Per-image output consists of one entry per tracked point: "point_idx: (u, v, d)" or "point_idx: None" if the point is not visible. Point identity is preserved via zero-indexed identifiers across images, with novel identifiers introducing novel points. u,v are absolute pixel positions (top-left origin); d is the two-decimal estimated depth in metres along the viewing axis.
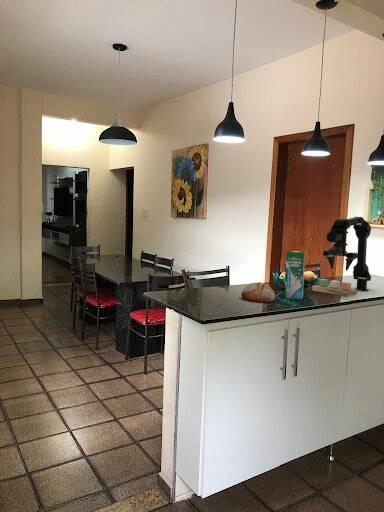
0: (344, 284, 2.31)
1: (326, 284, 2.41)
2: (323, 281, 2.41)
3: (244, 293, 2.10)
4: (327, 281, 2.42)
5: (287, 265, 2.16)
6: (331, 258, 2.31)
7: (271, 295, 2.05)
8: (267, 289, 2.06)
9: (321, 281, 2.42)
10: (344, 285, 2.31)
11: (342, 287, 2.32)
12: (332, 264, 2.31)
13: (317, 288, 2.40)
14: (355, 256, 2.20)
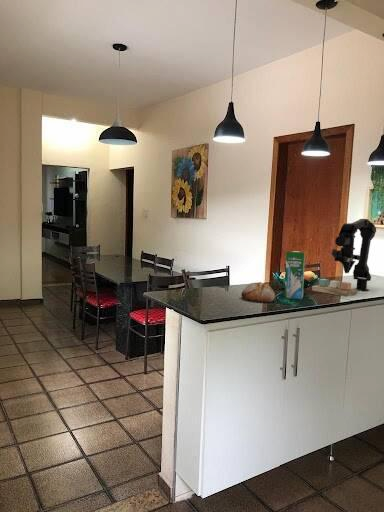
0: (344, 284, 2.31)
1: (326, 284, 2.41)
2: (323, 281, 2.41)
3: (244, 293, 2.10)
4: (327, 281, 2.42)
5: (287, 265, 2.16)
6: None
7: (271, 295, 2.06)
8: (267, 289, 2.06)
9: (321, 281, 2.42)
10: (344, 285, 2.31)
11: (342, 287, 2.32)
12: None
13: (317, 288, 2.40)
14: (339, 259, 2.25)
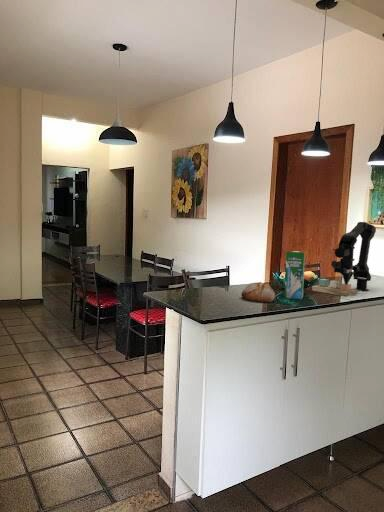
0: (344, 285, 2.31)
1: (326, 284, 2.41)
2: (323, 281, 2.41)
3: (244, 293, 2.10)
4: (327, 281, 2.42)
5: (287, 265, 2.16)
6: None
7: (271, 295, 2.06)
8: (267, 289, 2.07)
9: (321, 281, 2.42)
10: (343, 286, 2.31)
11: (342, 288, 2.32)
12: None
13: (317, 288, 2.40)
14: (338, 270, 2.26)
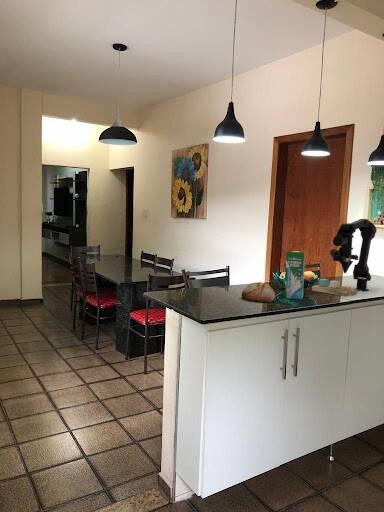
0: (343, 288, 2.32)
1: (326, 284, 2.41)
2: (323, 281, 2.41)
3: (244, 293, 2.10)
4: (327, 281, 2.42)
5: (287, 265, 2.16)
6: None
7: (271, 295, 2.06)
8: (267, 289, 2.07)
9: (321, 281, 2.42)
10: (343, 289, 2.32)
11: None
12: None
13: (317, 288, 2.40)
14: (337, 259, 2.26)
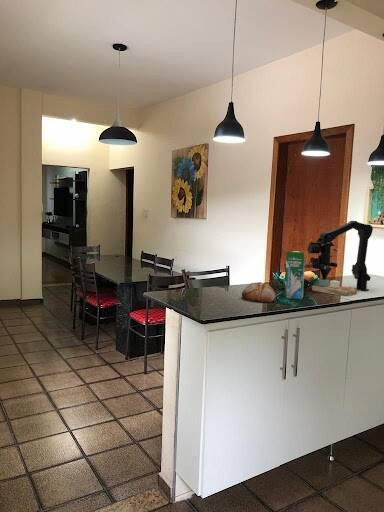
0: (343, 288, 2.32)
1: (326, 284, 2.41)
2: (323, 281, 2.41)
3: (244, 293, 2.11)
4: (327, 281, 2.42)
5: (287, 265, 2.16)
6: None
7: (271, 295, 2.06)
8: (267, 289, 2.07)
9: (321, 281, 2.42)
10: (343, 289, 2.32)
11: None
12: None
13: (317, 288, 2.40)
14: (316, 267, 2.36)
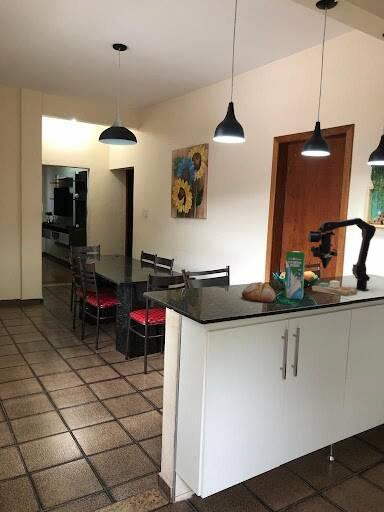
0: (343, 288, 2.32)
1: None
2: (323, 285, 2.41)
3: (245, 293, 2.11)
4: (327, 285, 2.42)
5: (287, 265, 2.16)
6: None
7: (272, 295, 2.06)
8: (268, 289, 2.07)
9: (321, 285, 2.42)
10: (343, 289, 2.32)
11: None
12: None
13: (317, 288, 2.40)
14: (317, 255, 2.39)
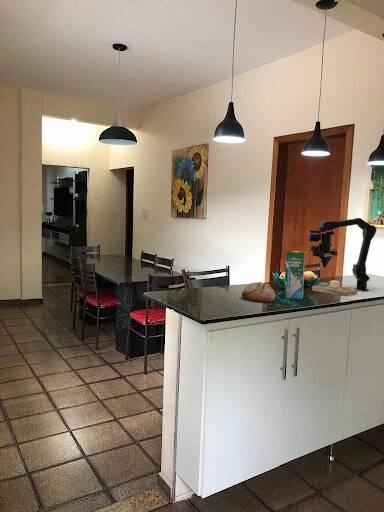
0: (343, 288, 2.32)
1: None
2: (323, 285, 2.41)
3: (245, 293, 2.11)
4: (327, 285, 2.42)
5: (287, 265, 2.16)
6: None
7: (272, 295, 2.06)
8: (268, 289, 2.07)
9: (321, 285, 2.42)
10: (343, 289, 2.32)
11: None
12: None
13: (317, 288, 2.40)
14: (316, 254, 2.41)
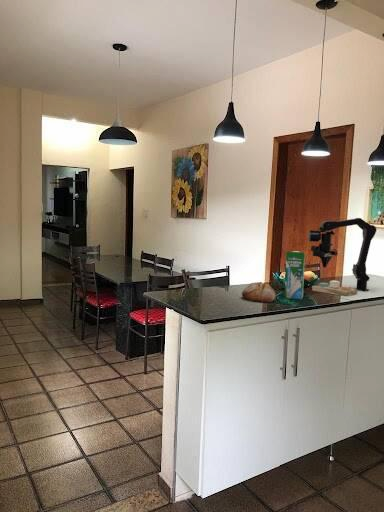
0: (343, 288, 2.32)
1: None
2: (323, 285, 2.41)
3: (245, 293, 2.11)
4: (327, 285, 2.42)
5: (287, 265, 2.16)
6: None
7: (272, 295, 2.06)
8: (268, 289, 2.07)
9: (321, 285, 2.42)
10: (343, 289, 2.32)
11: None
12: None
13: (317, 288, 2.40)
14: (316, 254, 2.41)
